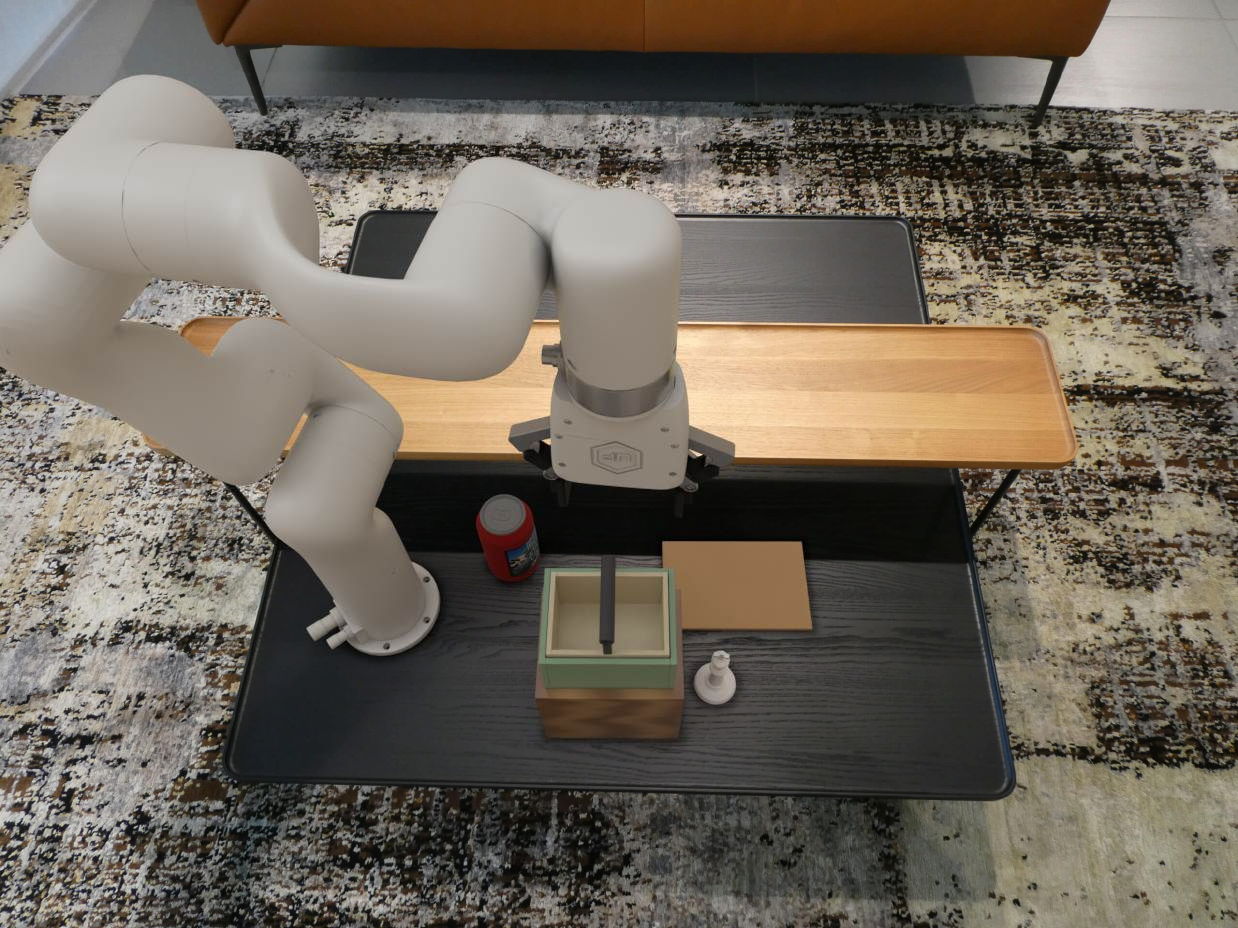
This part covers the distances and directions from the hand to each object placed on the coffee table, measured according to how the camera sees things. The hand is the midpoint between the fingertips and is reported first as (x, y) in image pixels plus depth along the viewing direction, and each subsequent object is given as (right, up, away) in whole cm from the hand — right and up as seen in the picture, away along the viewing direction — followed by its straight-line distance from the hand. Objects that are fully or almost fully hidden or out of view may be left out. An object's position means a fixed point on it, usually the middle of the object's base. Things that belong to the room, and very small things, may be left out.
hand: (622, 497), depth 71 cm
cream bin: (-1, -15, +16) cm, 22 cm away
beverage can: (-14, -10, +38) cm, 41 cm away
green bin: (-1, -16, +17) cm, 23 cm away
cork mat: (+14, -13, +35) cm, 40 cm away
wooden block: (-1, -23, +28) cm, 37 cm away
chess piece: (+11, -23, +28) cm, 38 cm away
